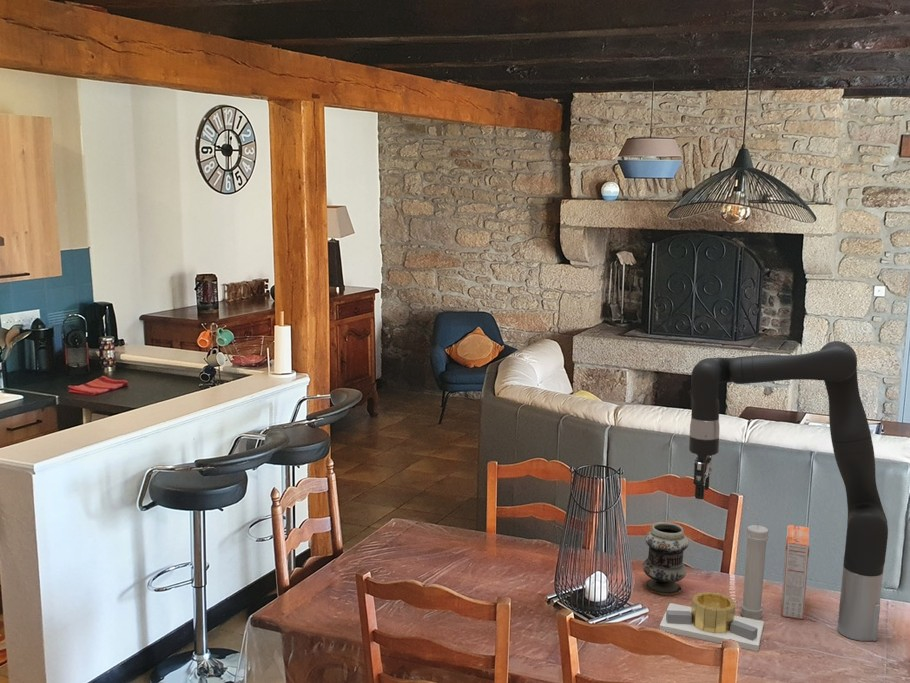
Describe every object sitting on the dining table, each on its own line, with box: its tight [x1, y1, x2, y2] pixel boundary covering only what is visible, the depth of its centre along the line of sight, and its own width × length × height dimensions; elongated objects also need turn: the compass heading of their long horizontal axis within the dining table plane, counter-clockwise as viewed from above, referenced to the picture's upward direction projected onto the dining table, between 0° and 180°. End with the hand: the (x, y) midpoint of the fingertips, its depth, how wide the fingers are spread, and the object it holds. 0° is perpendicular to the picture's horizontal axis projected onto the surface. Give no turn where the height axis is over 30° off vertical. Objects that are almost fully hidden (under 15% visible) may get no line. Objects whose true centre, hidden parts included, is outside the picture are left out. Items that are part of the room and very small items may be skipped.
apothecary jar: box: [642, 521, 689, 596], centre depth 257 cm, size 12×12×18 cm
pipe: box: [740, 505, 769, 620], centre depth 240 cm, size 6×6×30 cm
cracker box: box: [781, 524, 810, 620], centre depth 246 cm, size 14×6×21 cm, turn 159°
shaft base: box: [659, 602, 765, 652], centre depth 235 cm, size 24×14×4 cm, turn 66°
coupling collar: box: [691, 591, 736, 633], centre depth 234 cm, size 10×10×6 cm
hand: (702, 493), depth 244 cm, fingers open, 8 cm apart
